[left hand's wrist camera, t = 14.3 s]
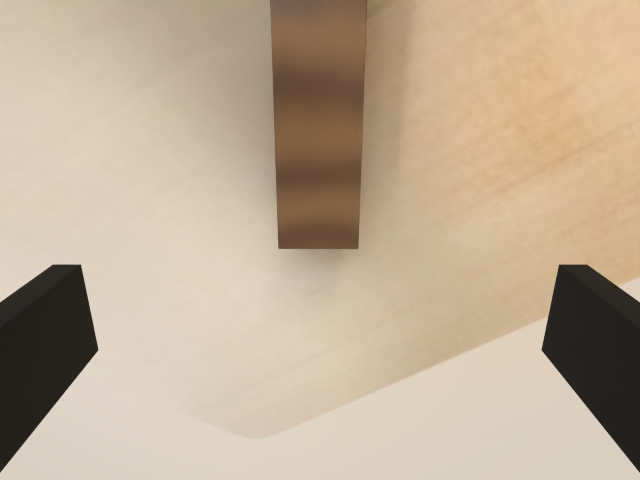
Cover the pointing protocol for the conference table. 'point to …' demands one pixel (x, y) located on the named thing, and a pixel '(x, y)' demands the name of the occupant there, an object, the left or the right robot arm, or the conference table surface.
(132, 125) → the conference table surface
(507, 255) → the conference table surface
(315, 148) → the post
